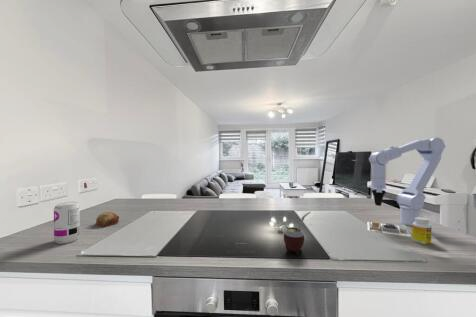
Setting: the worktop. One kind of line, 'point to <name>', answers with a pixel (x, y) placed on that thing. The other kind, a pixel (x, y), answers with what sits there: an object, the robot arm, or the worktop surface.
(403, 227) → the grey rocker switch
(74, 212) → the supplement can
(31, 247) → the worktop surface
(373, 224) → the tan block
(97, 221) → the bread roll
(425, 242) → the supplement bottle
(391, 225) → the black push button
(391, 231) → the switch board
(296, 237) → the mate gourd
